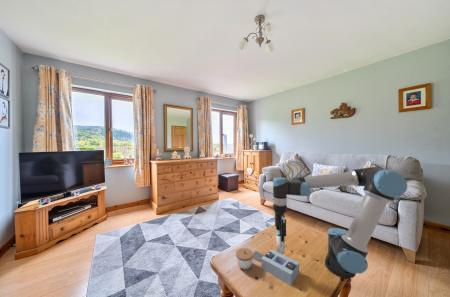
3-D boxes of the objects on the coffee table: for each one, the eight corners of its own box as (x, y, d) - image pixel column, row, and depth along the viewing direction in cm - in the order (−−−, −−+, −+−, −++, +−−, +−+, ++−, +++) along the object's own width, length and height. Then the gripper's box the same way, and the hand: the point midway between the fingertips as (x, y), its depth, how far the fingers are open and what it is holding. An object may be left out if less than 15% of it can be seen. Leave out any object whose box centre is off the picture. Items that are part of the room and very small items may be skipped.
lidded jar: (247, 275, 93) (246, 258, 93) (232, 266, 100) (232, 251, 100) (256, 264, 102) (256, 249, 101) (242, 257, 109) (242, 243, 108)
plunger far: (273, 260, 101) (273, 253, 101) (270, 262, 99) (270, 255, 99) (268, 257, 103) (269, 250, 103) (266, 260, 101) (266, 253, 101)
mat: (264, 256, 109) (264, 255, 109) (259, 261, 104) (259, 260, 104) (255, 251, 114) (255, 251, 114) (250, 256, 109) (250, 255, 109)
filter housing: (271, 258, 107) (271, 249, 107) (299, 273, 95) (299, 262, 95) (261, 268, 99) (261, 258, 99) (290, 285, 86) (291, 274, 86)
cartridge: (283, 248, 99) (282, 230, 99) (286, 253, 94) (285, 234, 94) (275, 248, 99) (275, 230, 99) (277, 254, 94) (277, 235, 94)
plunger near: (294, 271, 92) (294, 263, 92) (292, 274, 90) (292, 266, 90) (289, 268, 94) (289, 260, 94) (287, 271, 92) (287, 263, 92)
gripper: (269, 199, 105) (270, 235, 105) (278, 209, 87) (279, 253, 88) (281, 199, 105) (281, 235, 105) (292, 209, 87) (293, 253, 88)
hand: (280, 243), depth 97 cm, fingers closed on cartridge, 5 cm apart
